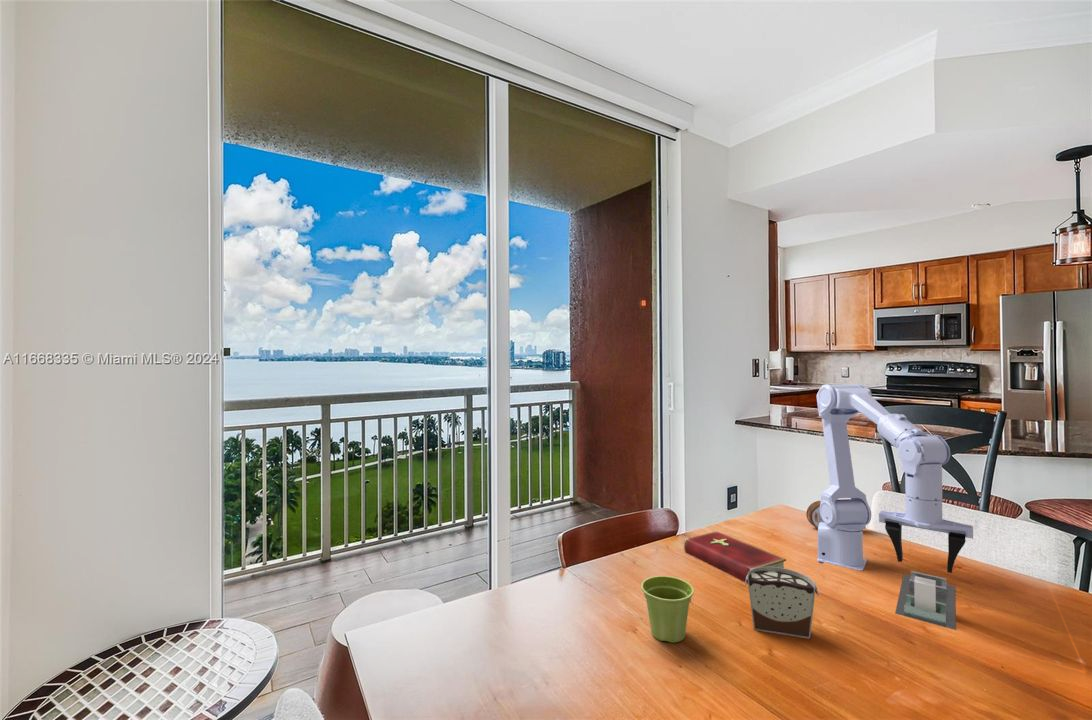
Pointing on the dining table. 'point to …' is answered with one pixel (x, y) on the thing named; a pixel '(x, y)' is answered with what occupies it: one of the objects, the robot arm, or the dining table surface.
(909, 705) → the dining table surface
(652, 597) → the plant pot
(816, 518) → the tin
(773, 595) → the grey brown curved-top block
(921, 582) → the plug
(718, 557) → the hardcover book
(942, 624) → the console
